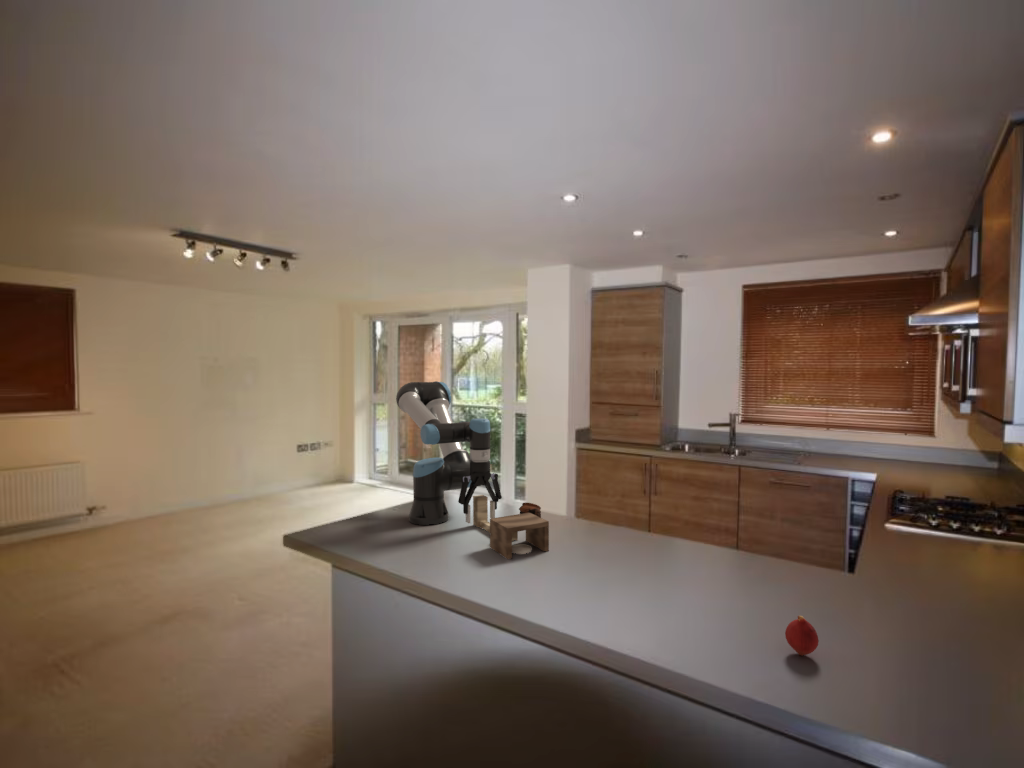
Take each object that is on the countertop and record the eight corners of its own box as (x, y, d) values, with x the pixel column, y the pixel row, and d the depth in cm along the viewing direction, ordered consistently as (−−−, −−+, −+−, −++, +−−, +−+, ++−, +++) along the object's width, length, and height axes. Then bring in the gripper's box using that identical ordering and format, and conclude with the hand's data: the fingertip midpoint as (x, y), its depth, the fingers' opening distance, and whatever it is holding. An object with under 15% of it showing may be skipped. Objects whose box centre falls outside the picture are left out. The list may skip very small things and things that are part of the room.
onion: (807, 647, 108) (807, 609, 108) (824, 662, 102) (825, 622, 102) (779, 647, 108) (780, 609, 107) (795, 663, 102) (796, 623, 102)
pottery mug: (510, 522, 199) (516, 501, 202) (530, 530, 203) (535, 509, 206) (527, 521, 189) (533, 499, 193) (548, 529, 193) (553, 508, 197)
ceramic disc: (505, 549, 168) (505, 546, 168) (524, 546, 171) (524, 542, 171) (516, 556, 162) (516, 552, 162) (535, 552, 165) (535, 549, 165)
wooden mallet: (468, 526, 193) (468, 496, 192) (487, 522, 196) (487, 494, 196) (496, 544, 172) (496, 511, 172) (517, 540, 176) (517, 508, 176)
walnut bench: (490, 547, 169) (489, 518, 169) (529, 540, 176) (529, 512, 176) (507, 559, 158) (507, 528, 158) (548, 550, 166) (548, 521, 166)
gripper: (456, 464, 183) (456, 527, 184) (511, 459, 194) (511, 518, 195) (448, 461, 190) (448, 522, 191) (501, 456, 201) (501, 513, 201)
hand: (480, 520), depth 193 cm, fingers open, 9 cm apart
